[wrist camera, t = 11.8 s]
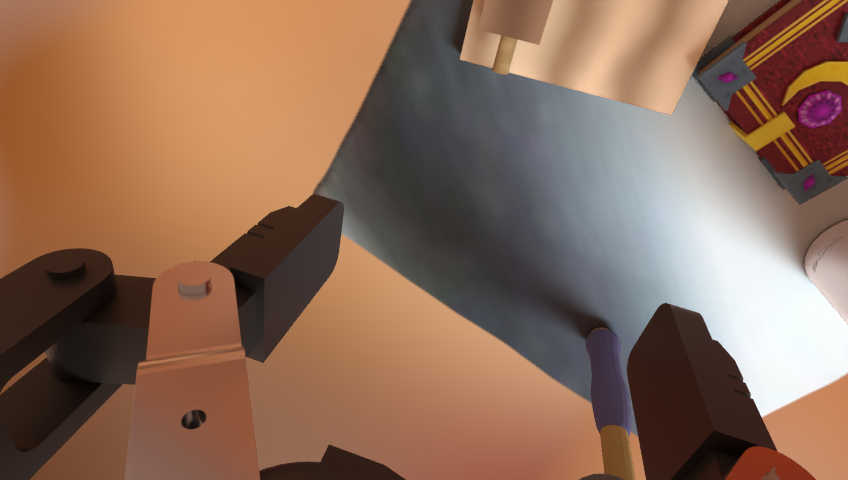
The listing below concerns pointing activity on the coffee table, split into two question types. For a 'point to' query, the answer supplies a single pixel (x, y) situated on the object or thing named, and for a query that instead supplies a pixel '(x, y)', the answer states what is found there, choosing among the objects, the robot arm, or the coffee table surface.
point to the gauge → (513, 26)
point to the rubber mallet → (610, 405)
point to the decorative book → (788, 91)
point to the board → (610, 47)
